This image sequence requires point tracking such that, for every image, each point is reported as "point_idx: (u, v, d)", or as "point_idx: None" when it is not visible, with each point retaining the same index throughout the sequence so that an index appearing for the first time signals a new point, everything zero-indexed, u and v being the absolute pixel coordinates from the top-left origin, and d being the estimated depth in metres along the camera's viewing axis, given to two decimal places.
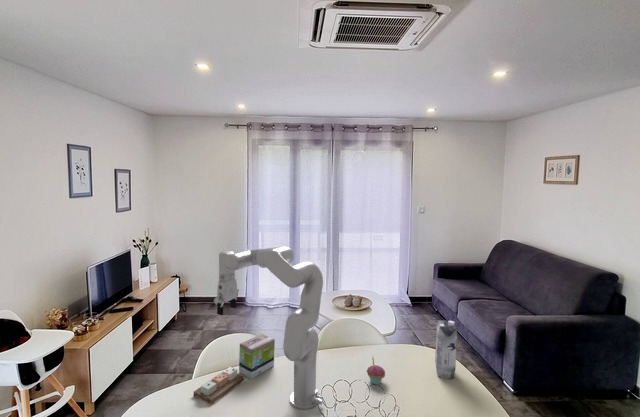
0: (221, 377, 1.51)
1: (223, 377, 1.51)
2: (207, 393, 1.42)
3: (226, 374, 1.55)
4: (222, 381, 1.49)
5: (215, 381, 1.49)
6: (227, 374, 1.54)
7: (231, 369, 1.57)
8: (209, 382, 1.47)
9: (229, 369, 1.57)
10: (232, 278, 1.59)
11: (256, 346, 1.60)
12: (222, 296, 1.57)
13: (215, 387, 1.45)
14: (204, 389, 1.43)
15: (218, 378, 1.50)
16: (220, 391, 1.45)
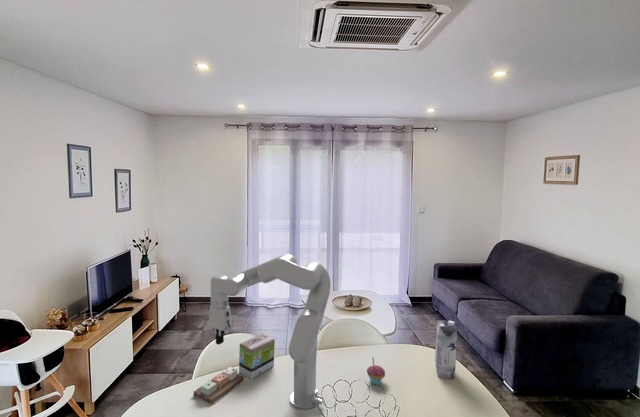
0: (221, 377, 1.51)
1: (223, 377, 1.51)
2: (207, 393, 1.42)
3: (226, 374, 1.55)
4: (222, 381, 1.49)
5: (215, 381, 1.49)
6: (227, 374, 1.54)
7: (231, 369, 1.57)
8: (209, 382, 1.47)
9: (229, 369, 1.57)
10: None
11: (256, 346, 1.60)
12: (230, 322, 1.48)
13: (215, 387, 1.45)
14: (204, 389, 1.43)
15: (218, 378, 1.50)
16: (220, 391, 1.45)
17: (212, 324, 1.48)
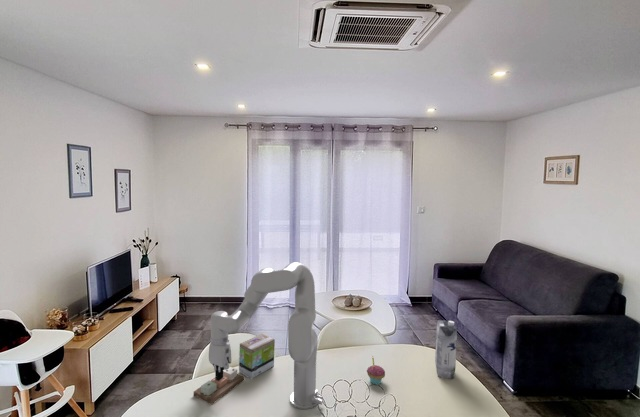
0: (221, 379, 1.51)
1: (223, 379, 1.51)
2: (207, 393, 1.42)
3: (226, 374, 1.55)
4: (222, 383, 1.49)
5: None
6: (227, 374, 1.54)
7: (231, 369, 1.57)
8: (209, 382, 1.47)
9: (229, 369, 1.57)
10: None
11: (256, 346, 1.60)
12: (230, 358, 1.49)
13: (215, 387, 1.45)
14: (204, 389, 1.43)
15: None
16: (220, 391, 1.45)
17: (212, 360, 1.49)
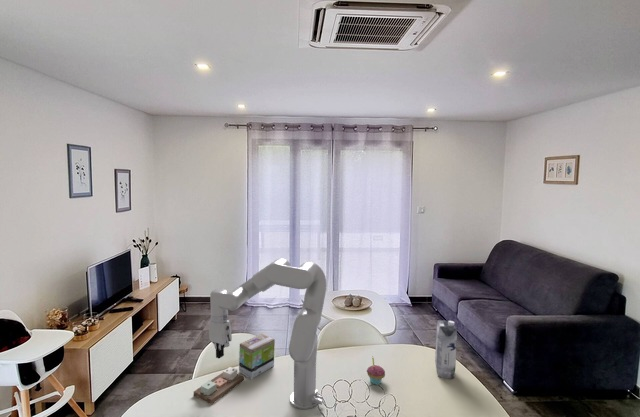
0: (221, 381, 1.51)
1: (223, 381, 1.51)
2: (207, 393, 1.42)
3: (226, 374, 1.55)
4: (222, 385, 1.49)
5: None
6: (227, 374, 1.54)
7: (231, 369, 1.57)
8: (209, 382, 1.47)
9: (229, 369, 1.57)
10: None
11: (256, 346, 1.60)
12: (230, 336, 1.48)
13: (215, 387, 1.45)
14: (204, 389, 1.43)
15: (218, 382, 1.50)
16: (220, 391, 1.45)
17: (212, 338, 1.48)
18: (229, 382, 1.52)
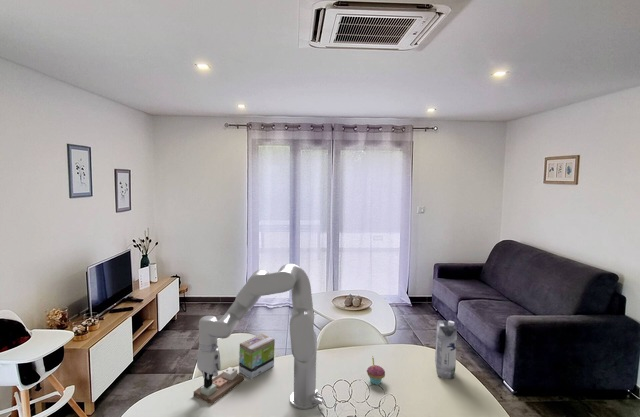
0: (221, 381, 1.51)
1: (223, 381, 1.51)
2: (207, 394, 1.42)
3: (226, 374, 1.55)
4: (222, 385, 1.49)
5: None
6: (227, 374, 1.54)
7: (231, 369, 1.57)
8: None
9: (229, 369, 1.57)
10: None
11: (256, 346, 1.60)
12: (219, 365, 1.43)
13: (215, 388, 1.45)
14: (204, 391, 1.43)
15: (218, 382, 1.50)
16: (220, 391, 1.45)
17: (200, 367, 1.44)
18: (229, 382, 1.52)
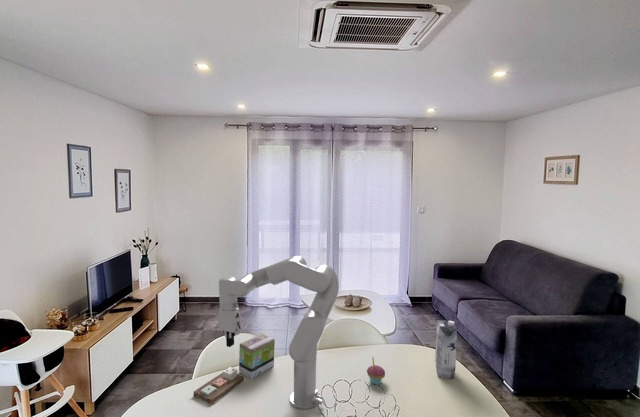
0: (221, 381, 1.51)
1: (223, 381, 1.51)
2: None
3: (226, 374, 1.55)
4: (222, 385, 1.49)
5: (215, 385, 1.49)
6: (227, 374, 1.54)
7: (231, 369, 1.57)
8: (209, 386, 1.47)
9: (229, 369, 1.57)
10: None
11: (256, 346, 1.60)
12: (240, 323, 1.47)
13: None
14: (204, 394, 1.43)
15: (218, 382, 1.50)
16: (220, 391, 1.45)
17: (222, 327, 1.47)
18: (229, 382, 1.52)
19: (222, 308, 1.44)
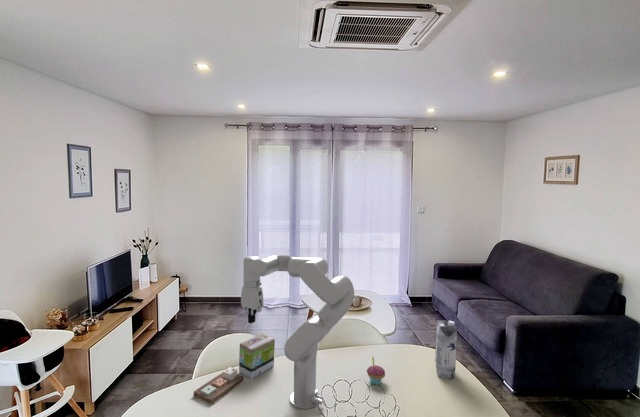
0: (221, 381, 1.51)
1: (223, 381, 1.51)
2: None
3: (226, 374, 1.55)
4: (222, 385, 1.49)
5: (215, 385, 1.49)
6: (227, 374, 1.54)
7: (231, 369, 1.57)
8: (209, 386, 1.47)
9: (229, 369, 1.57)
10: None
11: (256, 346, 1.60)
12: (262, 301, 1.51)
13: None
14: (204, 394, 1.43)
15: (218, 382, 1.50)
16: (220, 391, 1.45)
17: (244, 304, 1.52)
18: (229, 382, 1.52)
19: (246, 285, 1.49)
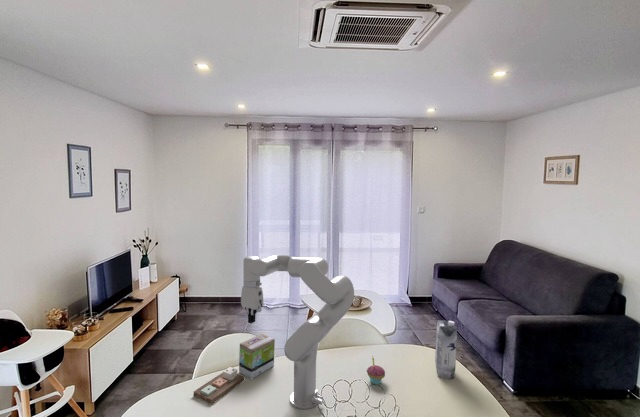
0: (221, 381, 1.51)
1: (223, 381, 1.51)
2: None
3: (226, 374, 1.55)
4: (222, 385, 1.49)
5: (215, 385, 1.49)
6: (227, 374, 1.54)
7: (231, 369, 1.57)
8: (209, 386, 1.47)
9: (229, 369, 1.57)
10: None
11: (256, 346, 1.60)
12: (262, 301, 1.51)
13: None
14: (204, 394, 1.43)
15: (218, 382, 1.50)
16: (220, 391, 1.45)
17: (244, 304, 1.52)
18: (229, 382, 1.52)
19: (246, 285, 1.49)
